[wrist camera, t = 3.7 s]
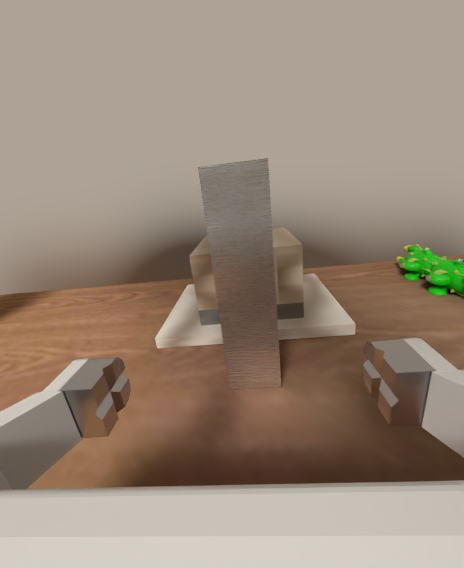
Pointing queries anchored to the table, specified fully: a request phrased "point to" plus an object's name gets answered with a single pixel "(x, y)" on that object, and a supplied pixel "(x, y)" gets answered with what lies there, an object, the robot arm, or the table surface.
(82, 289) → the table surface
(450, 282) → the crocodile figurine
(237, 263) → the grey rectangular bar
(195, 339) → the square socket base
